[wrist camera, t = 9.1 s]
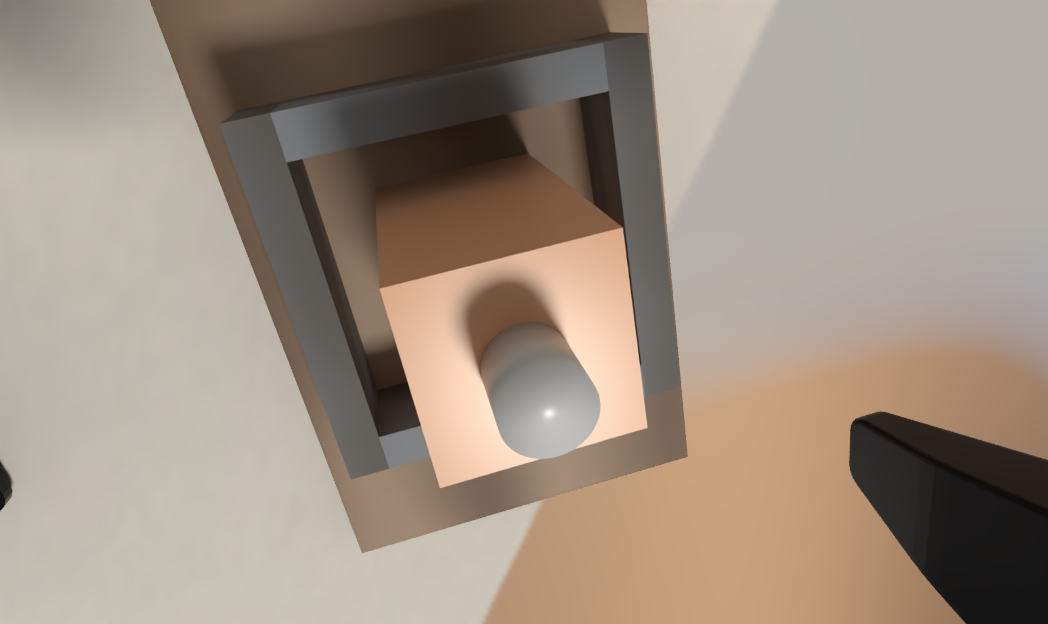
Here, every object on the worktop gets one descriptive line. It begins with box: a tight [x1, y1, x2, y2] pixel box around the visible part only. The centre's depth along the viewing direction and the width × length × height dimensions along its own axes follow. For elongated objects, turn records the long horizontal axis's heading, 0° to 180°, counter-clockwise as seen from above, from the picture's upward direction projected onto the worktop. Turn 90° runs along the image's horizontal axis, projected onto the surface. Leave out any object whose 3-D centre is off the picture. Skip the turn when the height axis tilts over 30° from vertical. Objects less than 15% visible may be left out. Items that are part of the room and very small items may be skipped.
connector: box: [375, 153, 648, 488], centre depth 14 cm, size 4×4×9 cm
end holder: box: [150, 0, 687, 553], centre depth 17 cm, size 11×18×3 cm, turn 10°
